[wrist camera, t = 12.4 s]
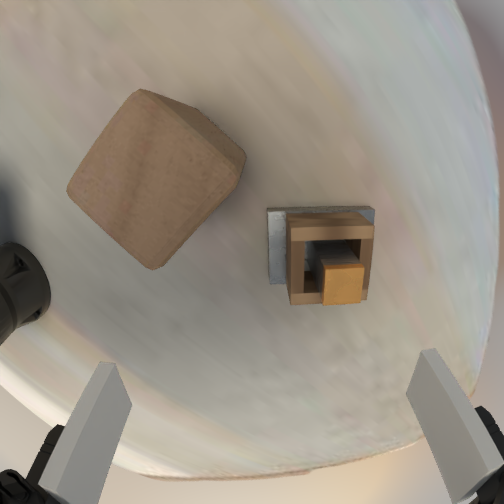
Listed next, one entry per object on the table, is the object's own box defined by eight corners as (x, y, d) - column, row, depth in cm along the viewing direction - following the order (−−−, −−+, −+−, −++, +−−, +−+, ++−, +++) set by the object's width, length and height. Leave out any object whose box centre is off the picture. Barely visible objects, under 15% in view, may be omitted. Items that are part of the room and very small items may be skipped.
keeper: (269, 277, 44) (274, 332, 32) (267, 208, 40) (272, 241, 28) (364, 273, 44) (397, 322, 32) (369, 206, 40) (412, 237, 28)
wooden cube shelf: (286, 282, 42) (290, 304, 37) (285, 213, 39) (290, 227, 33) (353, 278, 42) (366, 300, 36) (358, 212, 38) (374, 225, 33)
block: (250, 156, 38) (245, 178, 19) (197, 211, 41) (152, 280, 22) (192, 104, 36) (134, 81, 17) (142, 162, 38) (57, 193, 20)
